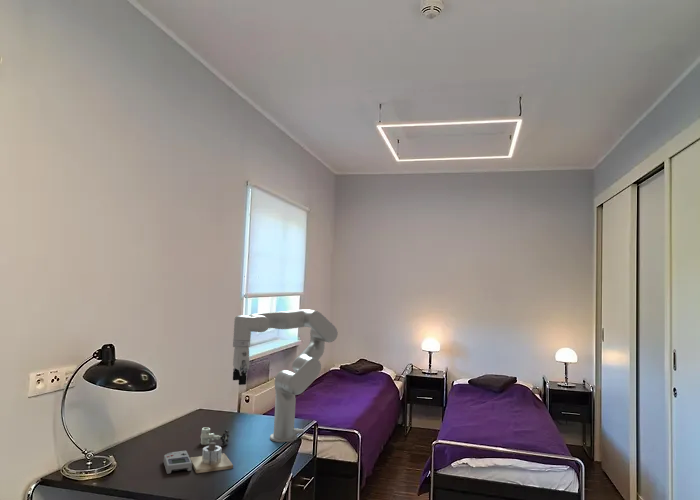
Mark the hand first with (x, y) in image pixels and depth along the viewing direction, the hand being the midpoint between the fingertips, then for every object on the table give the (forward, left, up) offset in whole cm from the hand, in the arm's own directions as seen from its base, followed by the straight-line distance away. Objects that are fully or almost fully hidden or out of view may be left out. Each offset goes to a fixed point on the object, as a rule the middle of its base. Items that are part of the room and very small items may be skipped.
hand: (239, 382), depth 216 cm
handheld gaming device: (+27, +13, -29) cm, 41 cm away
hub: (+14, +16, -27) cm, 34 cm away
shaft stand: (+14, +16, -28) cm, 35 cm away
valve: (+8, -7, -29) cm, 31 cm away
